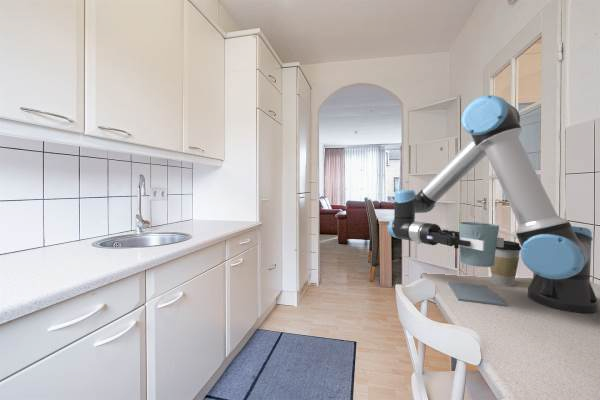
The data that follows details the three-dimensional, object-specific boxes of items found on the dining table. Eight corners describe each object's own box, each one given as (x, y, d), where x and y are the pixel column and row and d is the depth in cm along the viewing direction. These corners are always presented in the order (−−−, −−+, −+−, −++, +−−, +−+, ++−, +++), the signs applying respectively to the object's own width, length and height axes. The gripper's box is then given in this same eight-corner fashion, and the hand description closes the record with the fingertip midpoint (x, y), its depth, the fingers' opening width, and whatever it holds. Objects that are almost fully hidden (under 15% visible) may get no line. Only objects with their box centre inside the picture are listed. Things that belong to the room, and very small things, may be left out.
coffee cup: (527, 286, 94) (528, 244, 94) (506, 289, 92) (507, 245, 91) (499, 278, 104) (500, 239, 103) (479, 280, 101) (480, 240, 100)
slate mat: (486, 287, 93) (486, 285, 93) (505, 306, 78) (505, 303, 78) (447, 283, 97) (447, 281, 97) (458, 300, 82) (458, 298, 82)
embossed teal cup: (452, 262, 82) (453, 223, 82) (464, 257, 89) (465, 221, 89) (492, 269, 75) (493, 226, 74) (501, 263, 81) (503, 224, 81)
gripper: (444, 241, 103) (513, 253, 83) (403, 246, 93) (470, 261, 73) (445, 221, 103) (514, 229, 83) (404, 224, 92) (471, 233, 72)
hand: (493, 244), depth 78 cm, fingers closed on embossed teal cup, 9 cm apart
